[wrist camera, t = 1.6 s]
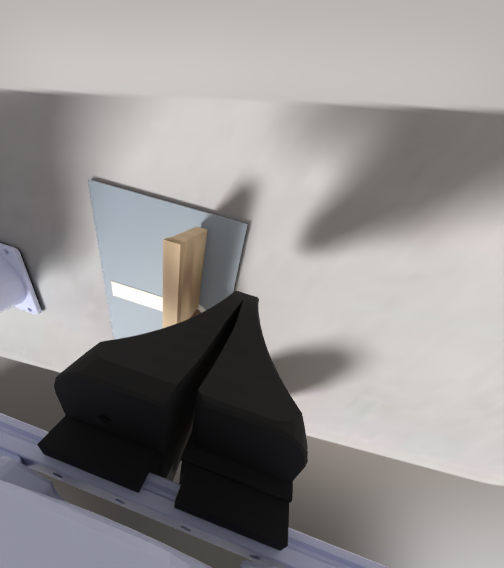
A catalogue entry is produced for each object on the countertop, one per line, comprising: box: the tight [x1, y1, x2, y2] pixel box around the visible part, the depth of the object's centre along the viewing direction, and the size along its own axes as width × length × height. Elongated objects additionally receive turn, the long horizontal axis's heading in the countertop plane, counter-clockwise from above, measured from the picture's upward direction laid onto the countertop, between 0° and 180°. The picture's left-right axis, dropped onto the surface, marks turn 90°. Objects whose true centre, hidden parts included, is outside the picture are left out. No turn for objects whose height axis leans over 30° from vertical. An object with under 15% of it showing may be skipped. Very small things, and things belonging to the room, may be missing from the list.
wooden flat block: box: [162, 227, 207, 328], centre depth 14 cm, size 7×1×4 cm, turn 166°
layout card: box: [88, 180, 248, 339], centre depth 18 cm, size 12×16×1 cm
